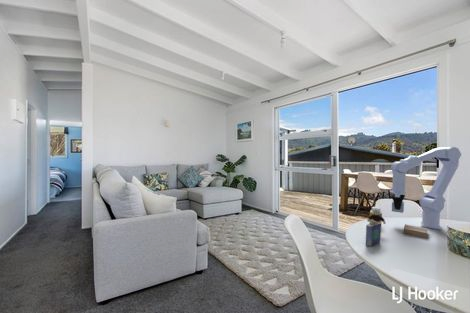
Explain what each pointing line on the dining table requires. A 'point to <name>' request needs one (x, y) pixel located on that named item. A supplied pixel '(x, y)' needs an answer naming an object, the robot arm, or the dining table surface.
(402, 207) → the slate cube
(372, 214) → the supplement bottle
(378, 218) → the grandmother figurine
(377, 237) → the flask
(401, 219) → the dining table surface
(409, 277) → the dining table surface
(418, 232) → the walnut block
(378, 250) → the dining table surface
